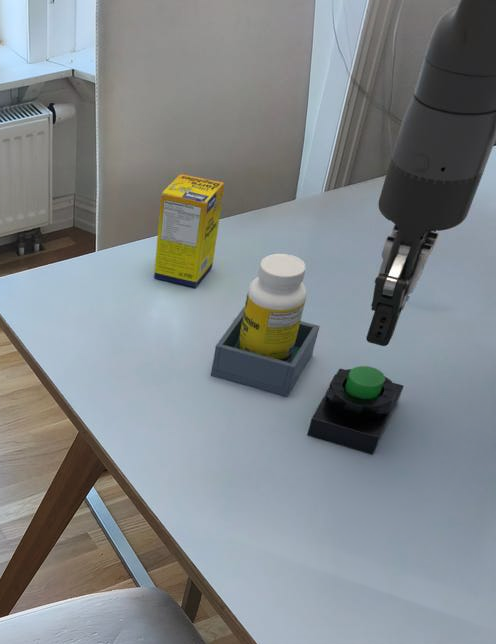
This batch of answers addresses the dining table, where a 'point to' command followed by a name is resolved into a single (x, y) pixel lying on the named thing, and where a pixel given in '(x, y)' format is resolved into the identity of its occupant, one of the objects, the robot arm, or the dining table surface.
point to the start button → (364, 382)
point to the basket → (262, 360)
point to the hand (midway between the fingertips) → (378, 340)
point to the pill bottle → (274, 308)
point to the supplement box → (188, 229)
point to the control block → (354, 415)
